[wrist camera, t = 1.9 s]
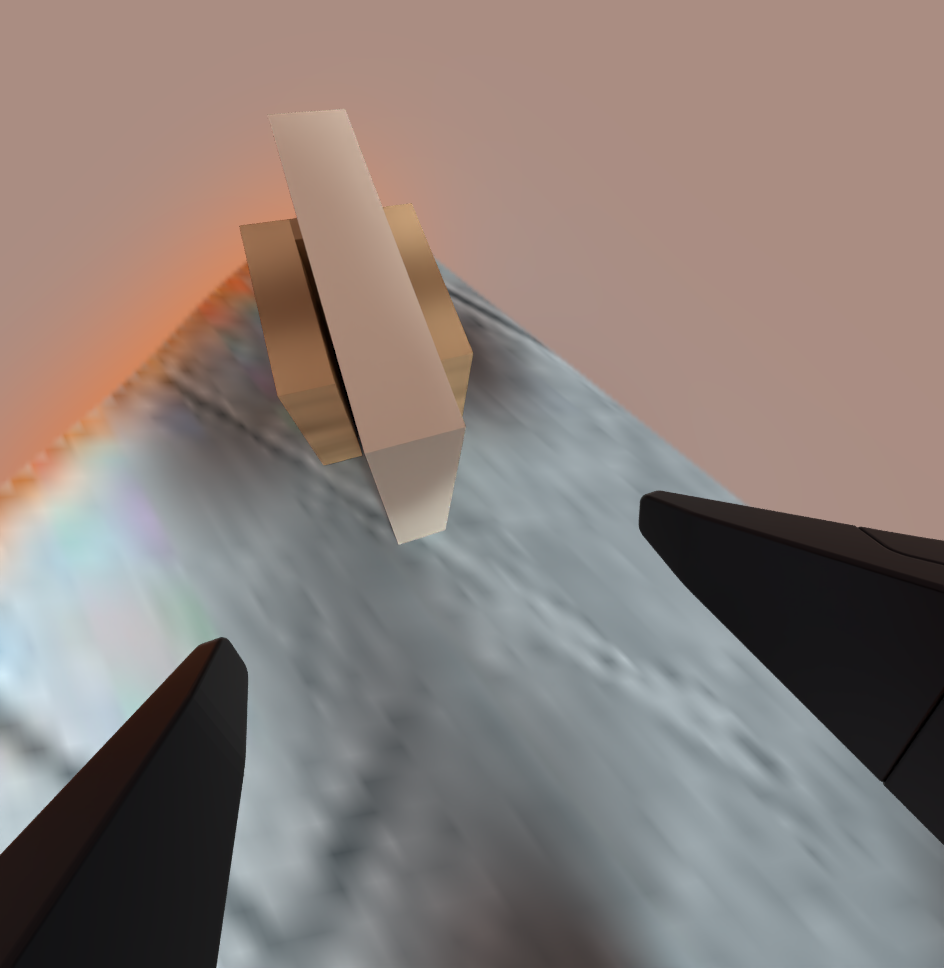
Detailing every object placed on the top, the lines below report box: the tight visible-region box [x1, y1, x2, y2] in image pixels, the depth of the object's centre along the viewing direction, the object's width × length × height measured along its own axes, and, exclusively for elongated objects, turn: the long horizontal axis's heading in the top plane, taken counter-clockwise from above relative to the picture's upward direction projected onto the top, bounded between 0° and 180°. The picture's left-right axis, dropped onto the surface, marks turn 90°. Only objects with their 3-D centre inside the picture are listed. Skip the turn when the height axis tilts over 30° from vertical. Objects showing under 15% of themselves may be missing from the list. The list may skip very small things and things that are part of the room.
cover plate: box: [268, 109, 466, 545], centre depth 16 cm, size 12×2×11 cm, turn 19°
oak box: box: [239, 204, 473, 465], centre depth 19 cm, size 8×7×6 cm
